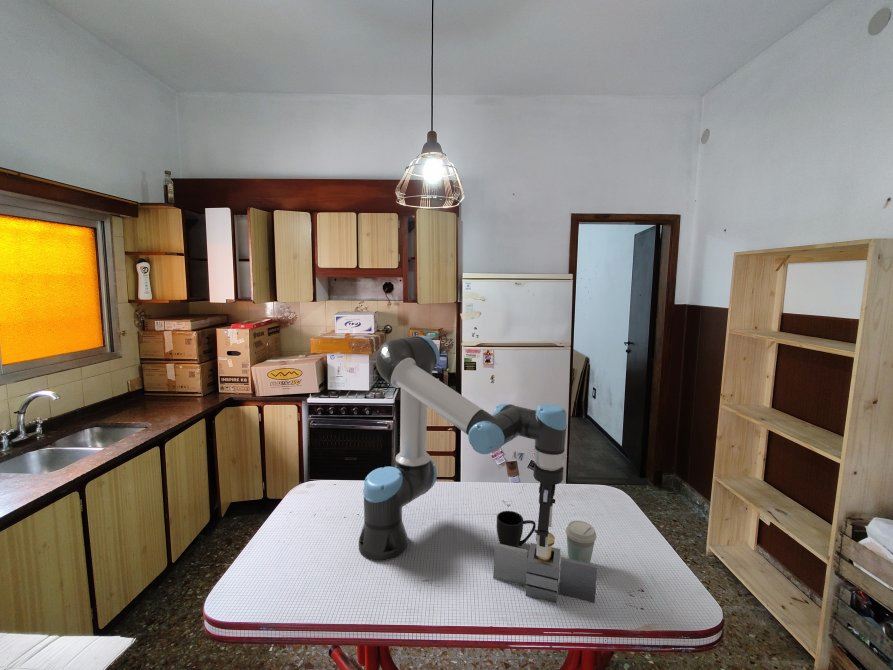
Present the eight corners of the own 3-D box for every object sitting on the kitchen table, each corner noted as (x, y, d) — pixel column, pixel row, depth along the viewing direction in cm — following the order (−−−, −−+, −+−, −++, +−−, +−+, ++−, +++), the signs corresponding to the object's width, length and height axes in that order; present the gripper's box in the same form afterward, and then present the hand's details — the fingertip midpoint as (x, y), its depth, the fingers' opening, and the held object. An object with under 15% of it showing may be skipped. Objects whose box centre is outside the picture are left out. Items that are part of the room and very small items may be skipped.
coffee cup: (574, 578, 115) (576, 538, 113) (558, 558, 123) (560, 521, 122) (600, 573, 117) (603, 534, 116) (582, 553, 125) (585, 517, 124)
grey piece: (490, 586, 111) (491, 553, 110) (496, 567, 119) (497, 535, 117) (556, 603, 106) (558, 568, 104) (558, 582, 113) (560, 549, 112)
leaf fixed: (525, 595, 108) (527, 561, 107) (529, 575, 116) (530, 542, 114) (595, 613, 103) (597, 577, 102) (594, 590, 110) (596, 556, 109)
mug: (535, 557, 123) (536, 528, 122) (495, 553, 125) (496, 524, 124) (533, 540, 131) (534, 512, 130) (496, 536, 133) (497, 509, 132)
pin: (531, 592, 109) (535, 539, 107) (533, 580, 114) (537, 529, 112) (549, 597, 108) (554, 543, 106) (550, 584, 112) (555, 533, 111)
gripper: (561, 490, 93) (555, 574, 96) (565, 448, 117) (561, 517, 120) (528, 484, 96) (523, 566, 98) (538, 444, 119) (535, 512, 122)
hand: (544, 539), depth 109 cm, fingers open, 13 cm apart
